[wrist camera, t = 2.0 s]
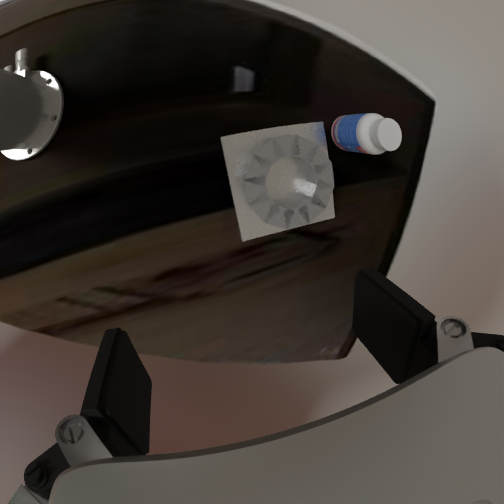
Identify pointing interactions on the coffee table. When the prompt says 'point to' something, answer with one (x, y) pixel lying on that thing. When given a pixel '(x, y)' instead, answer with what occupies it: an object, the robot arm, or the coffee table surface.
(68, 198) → the coffee table surface
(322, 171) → the ring socket
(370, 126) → the pill bottle
